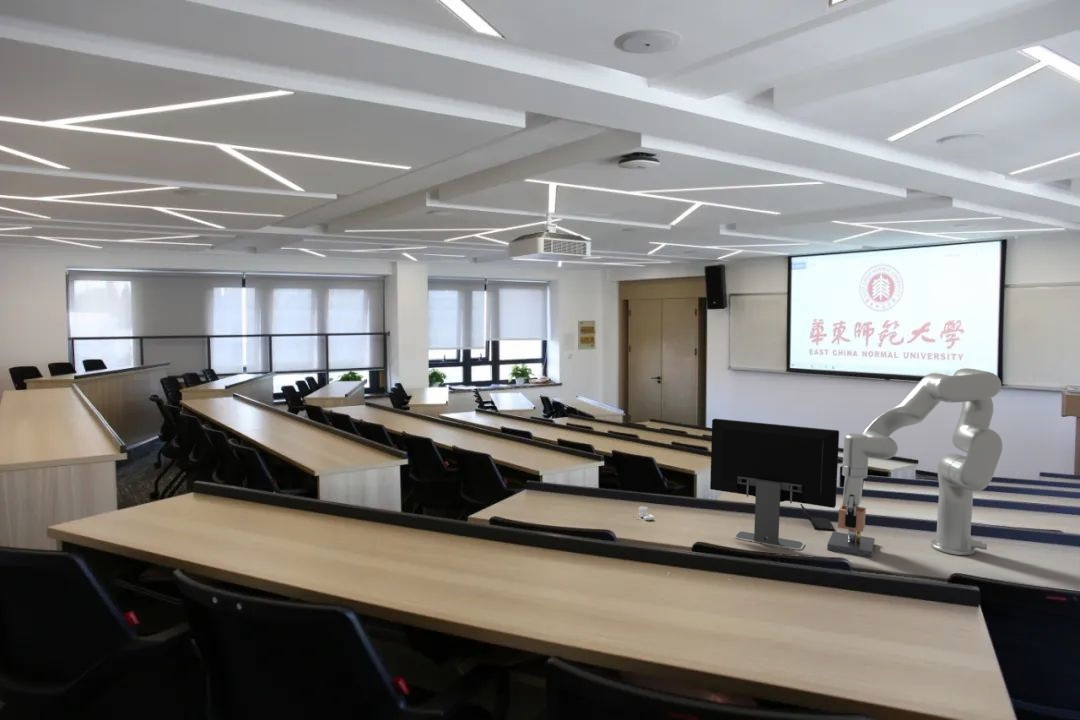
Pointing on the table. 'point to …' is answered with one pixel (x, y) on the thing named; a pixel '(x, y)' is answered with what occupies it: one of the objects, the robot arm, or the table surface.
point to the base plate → (851, 543)
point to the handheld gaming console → (819, 522)
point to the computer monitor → (774, 470)
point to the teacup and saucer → (644, 513)
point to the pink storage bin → (859, 518)
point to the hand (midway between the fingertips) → (851, 523)
